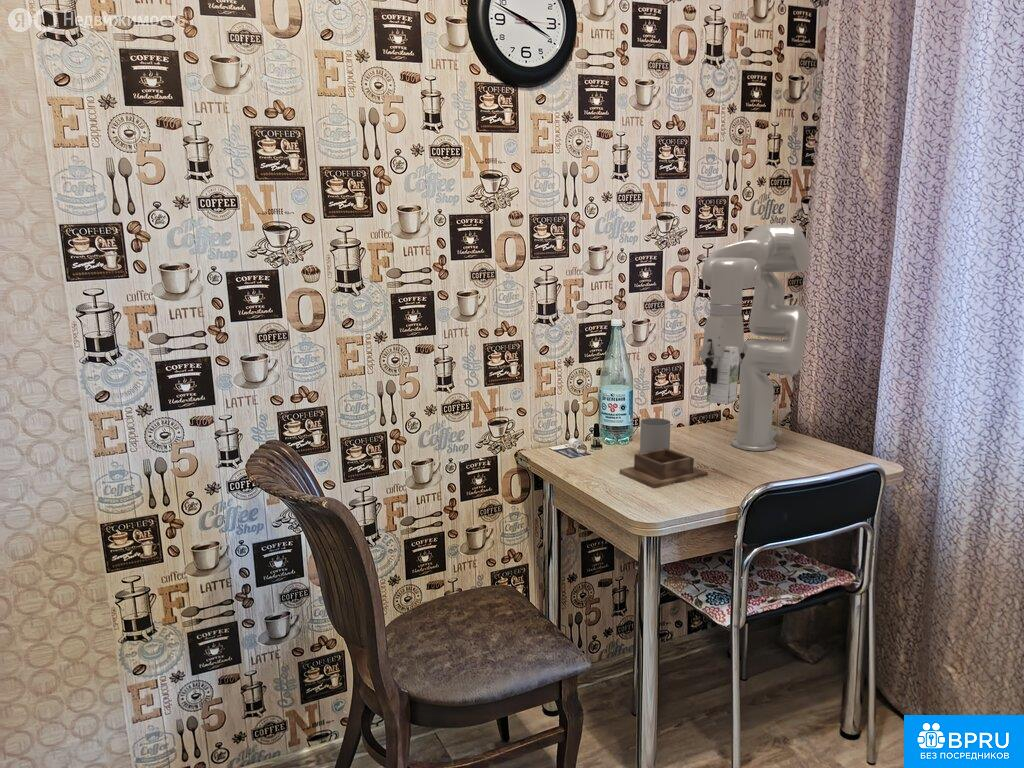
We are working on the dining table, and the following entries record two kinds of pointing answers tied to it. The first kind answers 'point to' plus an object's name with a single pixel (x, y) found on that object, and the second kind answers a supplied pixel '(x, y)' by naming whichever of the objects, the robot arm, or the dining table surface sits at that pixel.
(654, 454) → the box
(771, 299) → the robot arm
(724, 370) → the syrup box
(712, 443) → the dining table surface
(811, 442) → the dining table surface
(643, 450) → the cup
